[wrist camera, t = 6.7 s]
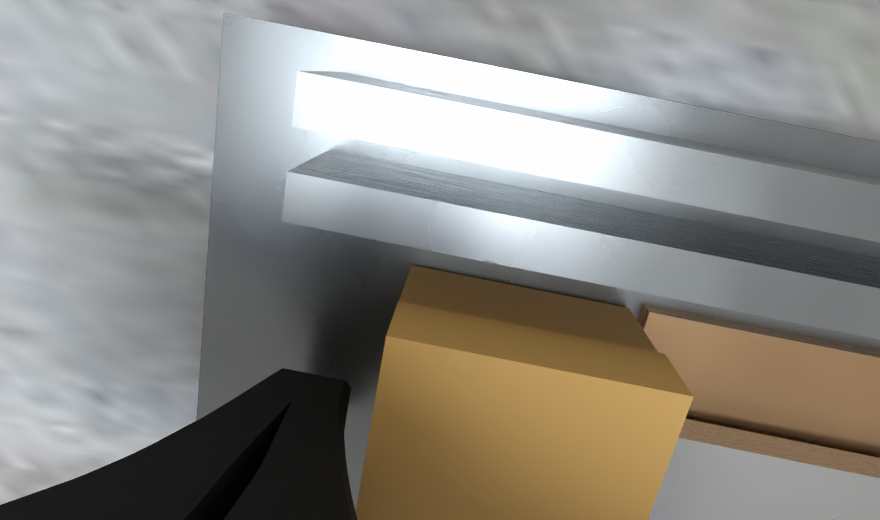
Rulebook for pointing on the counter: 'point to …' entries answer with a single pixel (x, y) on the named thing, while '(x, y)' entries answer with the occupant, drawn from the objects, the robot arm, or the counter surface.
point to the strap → (764, 479)
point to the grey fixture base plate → (534, 227)
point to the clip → (517, 407)
